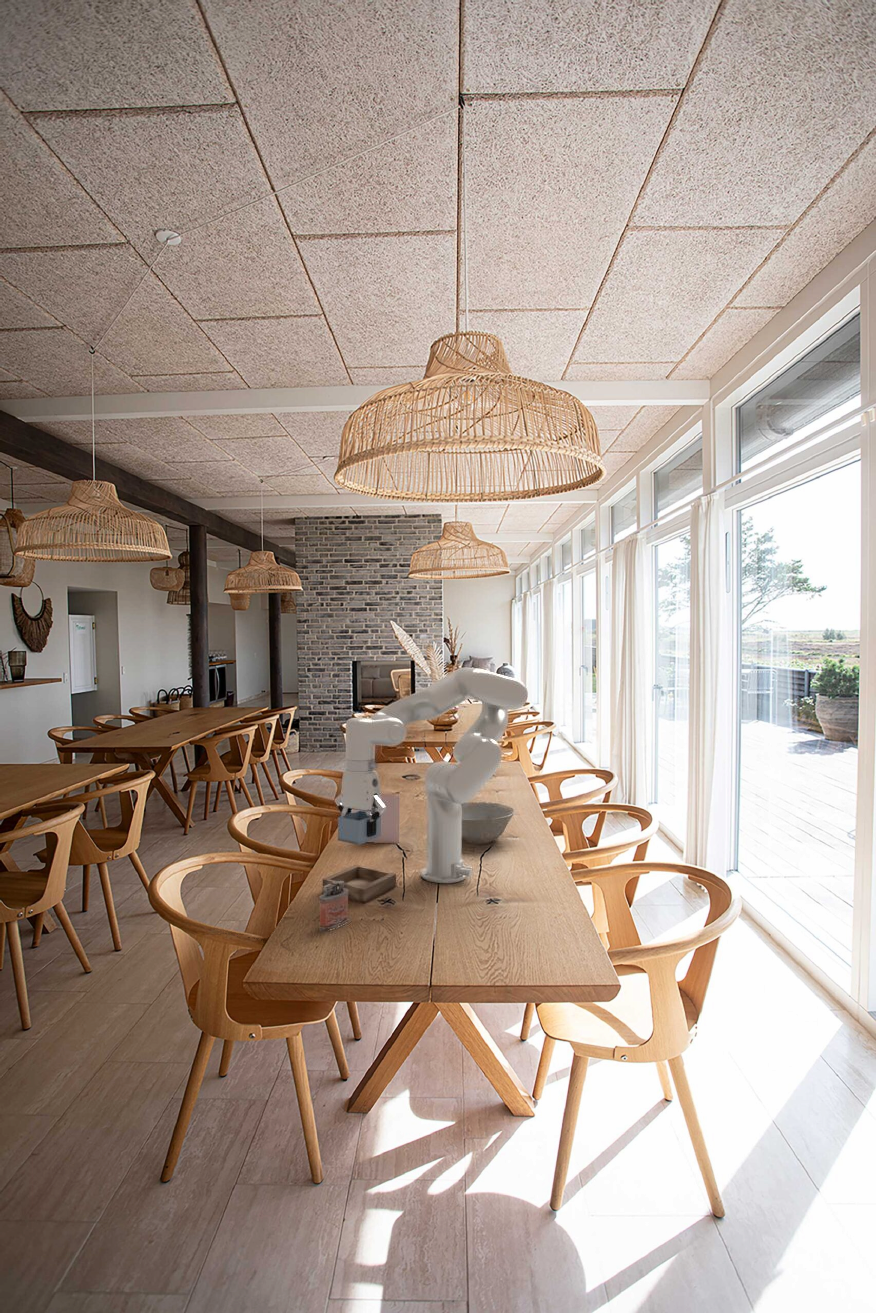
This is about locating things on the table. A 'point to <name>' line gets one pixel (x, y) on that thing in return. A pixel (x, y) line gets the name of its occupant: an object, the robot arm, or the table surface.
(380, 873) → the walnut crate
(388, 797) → the greeting card
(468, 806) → the ceramic bowl
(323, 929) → the lighter
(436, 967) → the table surface
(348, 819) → the small crate
